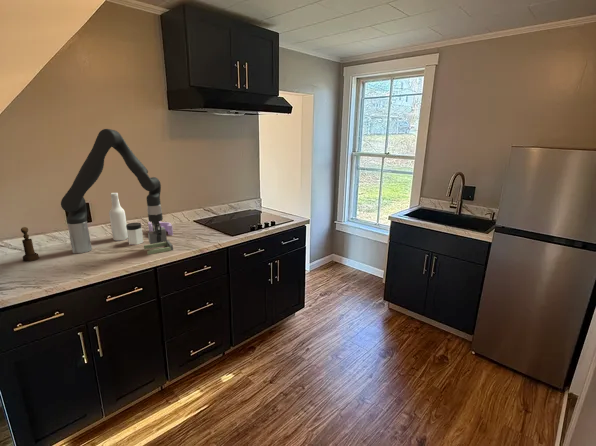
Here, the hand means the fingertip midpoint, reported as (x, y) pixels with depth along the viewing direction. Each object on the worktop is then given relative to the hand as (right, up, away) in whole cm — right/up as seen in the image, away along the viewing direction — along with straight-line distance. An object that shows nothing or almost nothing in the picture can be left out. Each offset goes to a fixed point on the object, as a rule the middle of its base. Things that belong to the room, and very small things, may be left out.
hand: (158, 240), depth 185 cm
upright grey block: (0, -1, 0) cm, 1 cm away
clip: (-12, +3, +31) cm, 33 cm away
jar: (-19, -2, +12) cm, 23 cm away
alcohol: (-32, 0, +18) cm, 37 cm away
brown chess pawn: (-61, -9, -16) cm, 64 cm away
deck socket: (-1, -5, +1) cm, 6 cm away
